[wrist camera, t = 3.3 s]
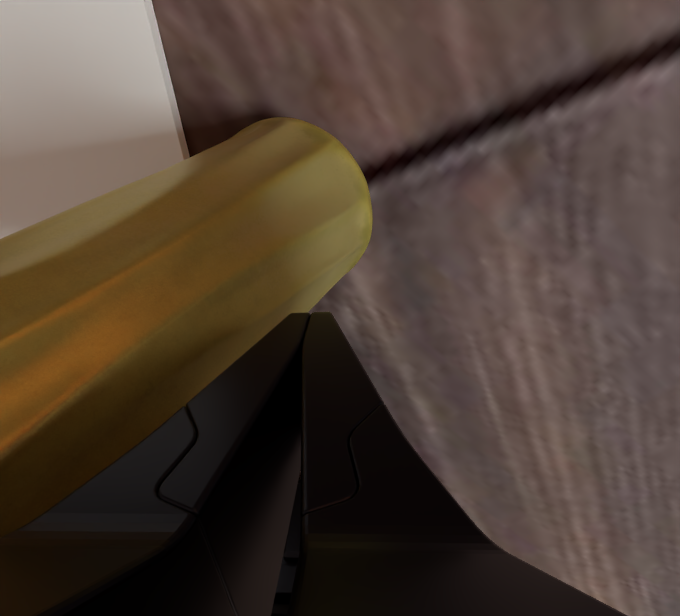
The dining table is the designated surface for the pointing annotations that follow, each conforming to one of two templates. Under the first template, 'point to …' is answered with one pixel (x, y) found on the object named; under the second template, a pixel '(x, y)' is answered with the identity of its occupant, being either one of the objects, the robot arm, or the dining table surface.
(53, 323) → the vase
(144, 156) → the mat
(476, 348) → the dining table surface
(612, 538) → the dining table surface
